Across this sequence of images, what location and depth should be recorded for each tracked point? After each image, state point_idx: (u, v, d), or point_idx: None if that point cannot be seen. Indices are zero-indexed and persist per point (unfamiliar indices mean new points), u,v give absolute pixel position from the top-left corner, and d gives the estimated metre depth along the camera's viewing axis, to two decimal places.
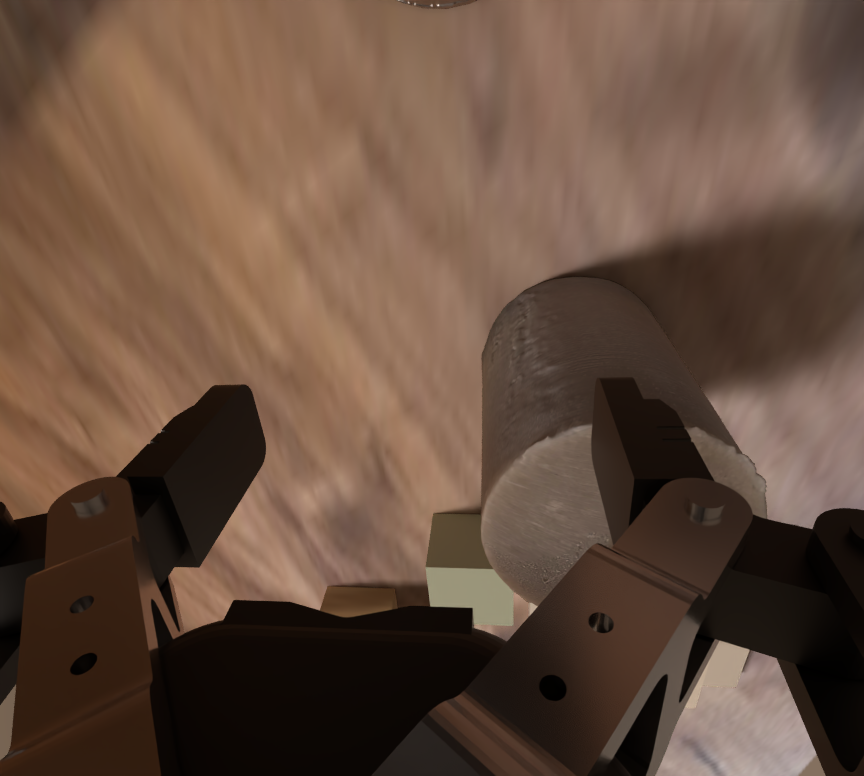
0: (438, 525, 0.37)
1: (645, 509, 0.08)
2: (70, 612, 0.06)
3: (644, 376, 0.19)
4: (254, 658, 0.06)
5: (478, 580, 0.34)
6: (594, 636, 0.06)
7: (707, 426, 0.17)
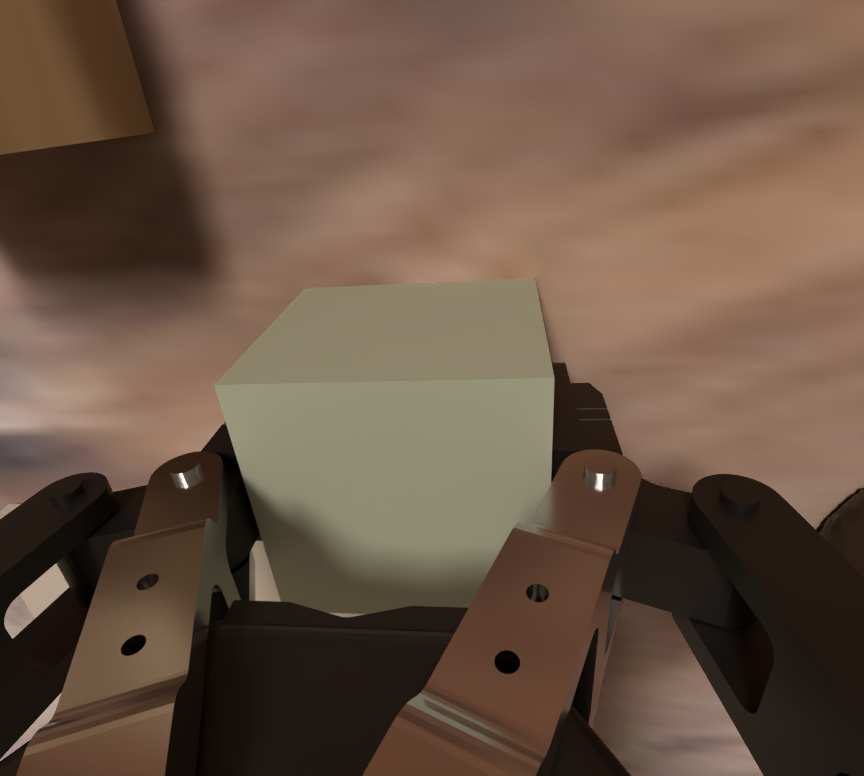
0: None
1: (552, 484, 0.08)
2: (137, 588, 0.07)
3: None
4: (254, 658, 0.06)
5: (488, 538, 0.10)
6: (534, 606, 0.06)
7: None
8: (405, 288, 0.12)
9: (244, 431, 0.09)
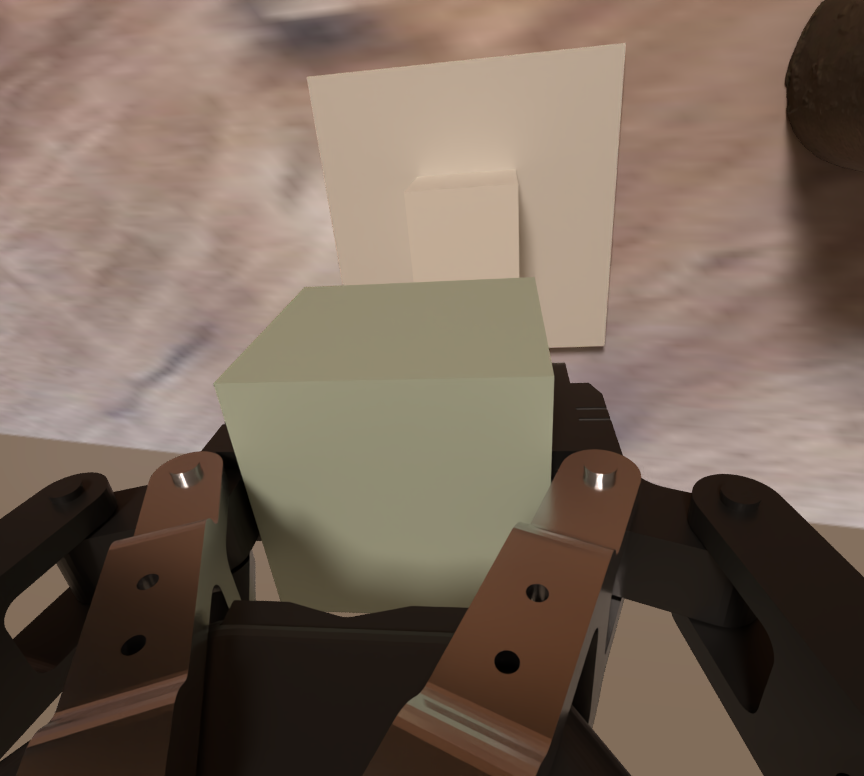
0: None
1: (551, 484, 0.08)
2: (138, 588, 0.07)
3: None
4: (254, 658, 0.06)
5: (488, 537, 0.10)
6: (533, 606, 0.06)
7: None
8: (405, 287, 0.12)
9: (243, 430, 0.09)
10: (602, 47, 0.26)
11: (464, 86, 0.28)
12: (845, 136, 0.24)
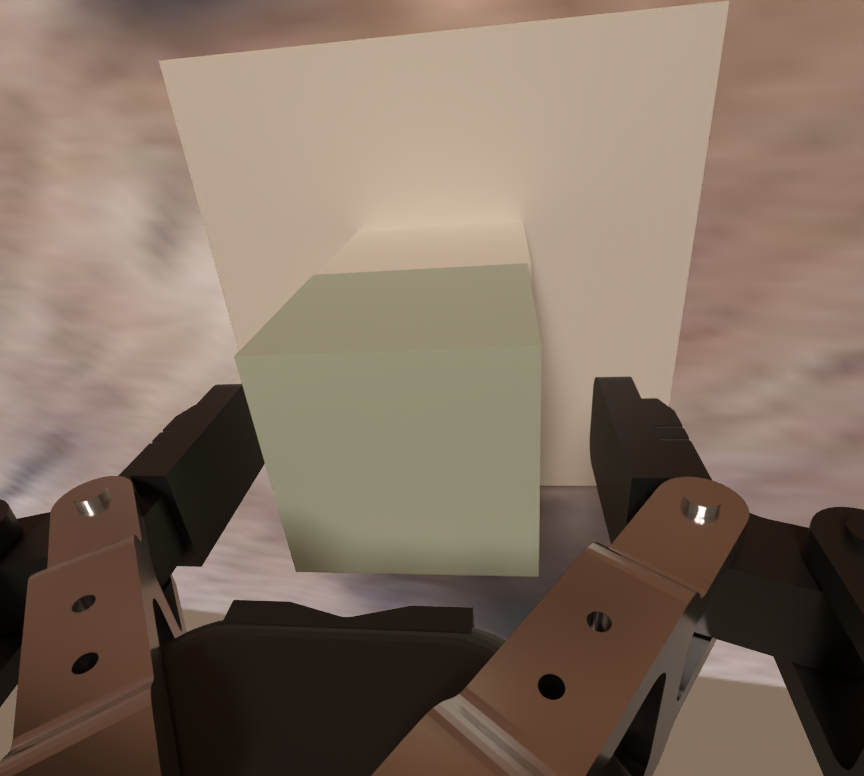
0: None
1: (642, 508, 0.08)
2: (73, 612, 0.06)
3: None
4: (254, 658, 0.06)
5: (484, 498, 0.11)
6: (593, 635, 0.06)
7: None
8: (406, 273, 0.13)
9: (261, 399, 0.10)
10: (685, 9, 0.14)
11: (433, 79, 0.16)
12: None
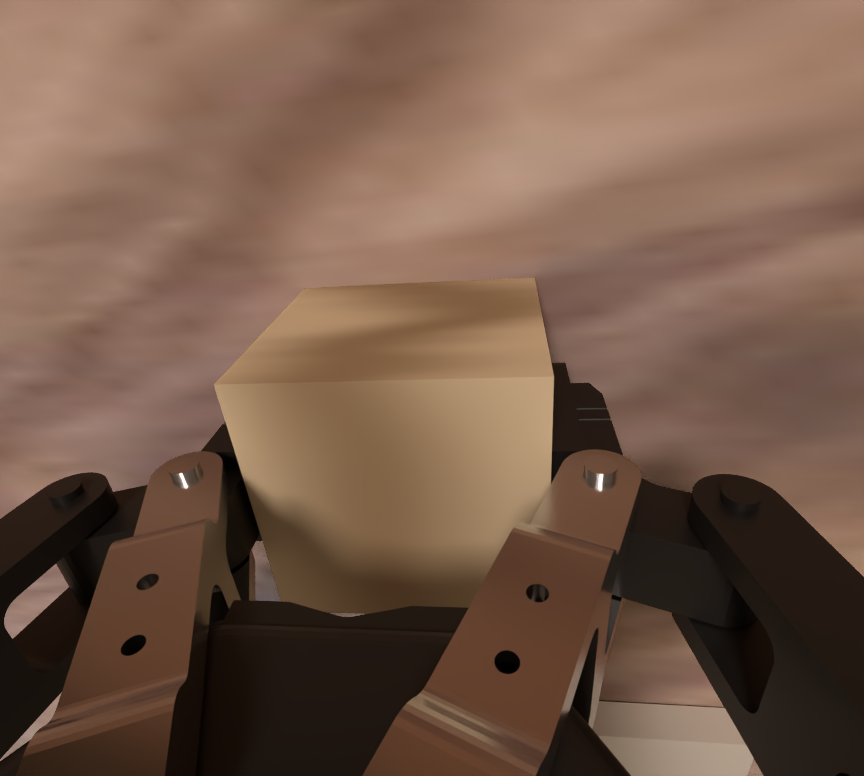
0: None
1: (552, 484, 0.08)
2: (137, 588, 0.07)
3: None
4: (254, 658, 0.06)
5: None
6: (533, 606, 0.06)
7: None
8: None
9: None
10: (722, 745, 0.18)
11: None
12: None
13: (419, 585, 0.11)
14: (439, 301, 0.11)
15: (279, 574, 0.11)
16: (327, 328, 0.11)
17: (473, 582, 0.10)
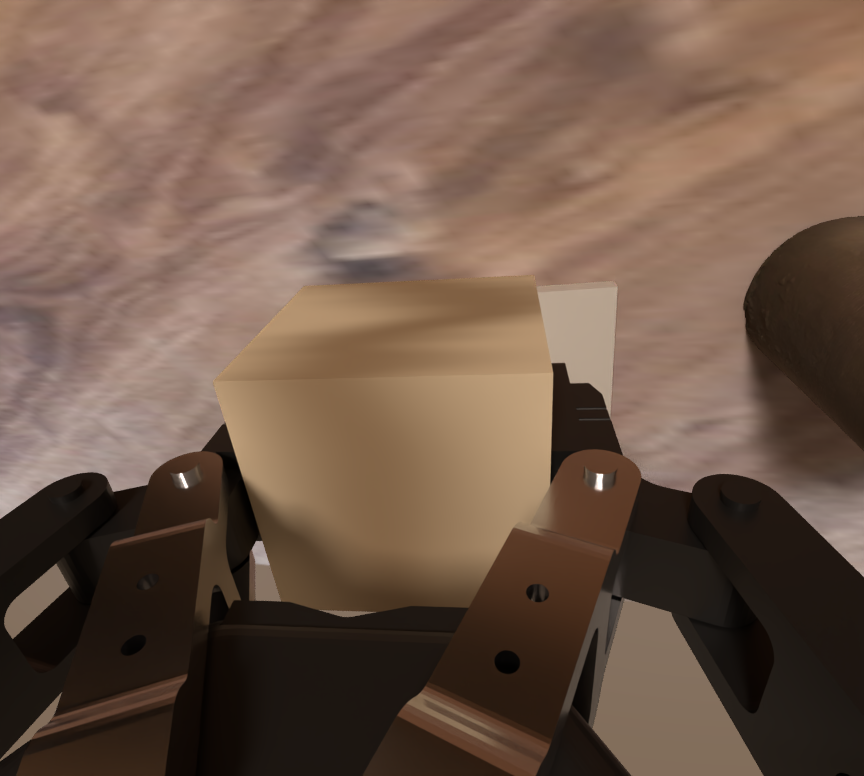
0: None
1: (552, 484, 0.08)
2: (138, 588, 0.07)
3: None
4: (254, 658, 0.06)
5: None
6: (533, 606, 0.06)
7: None
8: None
9: None
10: (599, 289, 0.34)
11: None
12: (787, 373, 0.31)
13: (418, 583, 0.11)
14: (438, 299, 0.11)
15: (278, 572, 0.11)
16: (326, 326, 0.11)
17: (473, 580, 0.10)
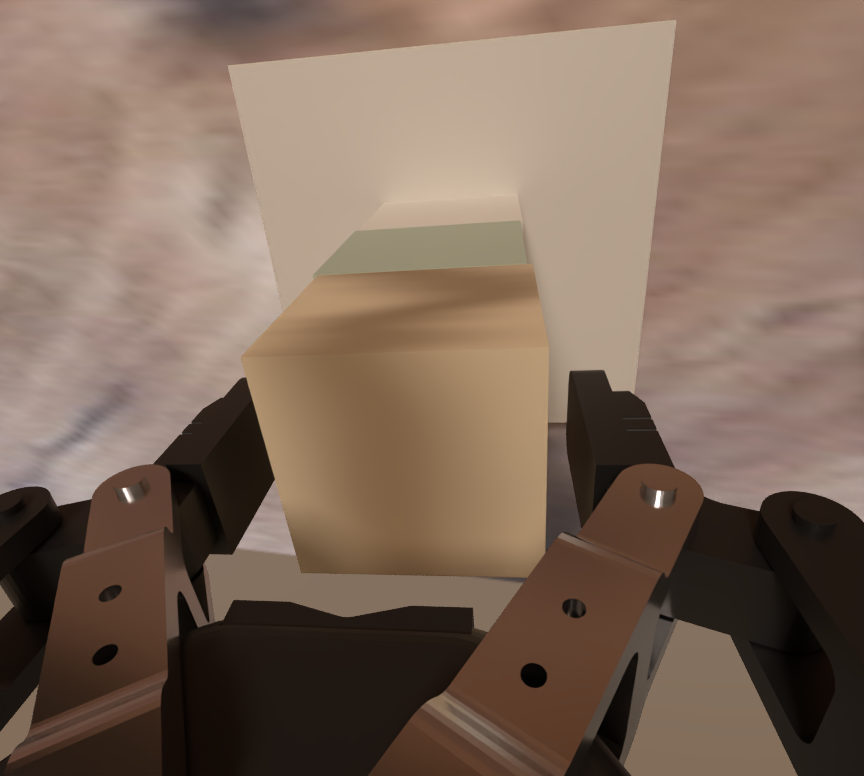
0: None
1: (605, 496, 0.08)
2: (100, 600, 0.06)
3: None
4: (254, 658, 0.06)
5: None
6: (569, 622, 0.06)
7: None
8: (428, 228, 0.17)
9: None
10: (642, 26, 0.18)
11: (446, 80, 0.20)
12: None
13: (426, 546, 0.11)
14: (443, 285, 0.12)
15: (297, 537, 0.12)
16: (340, 309, 0.11)
17: (477, 543, 0.11)
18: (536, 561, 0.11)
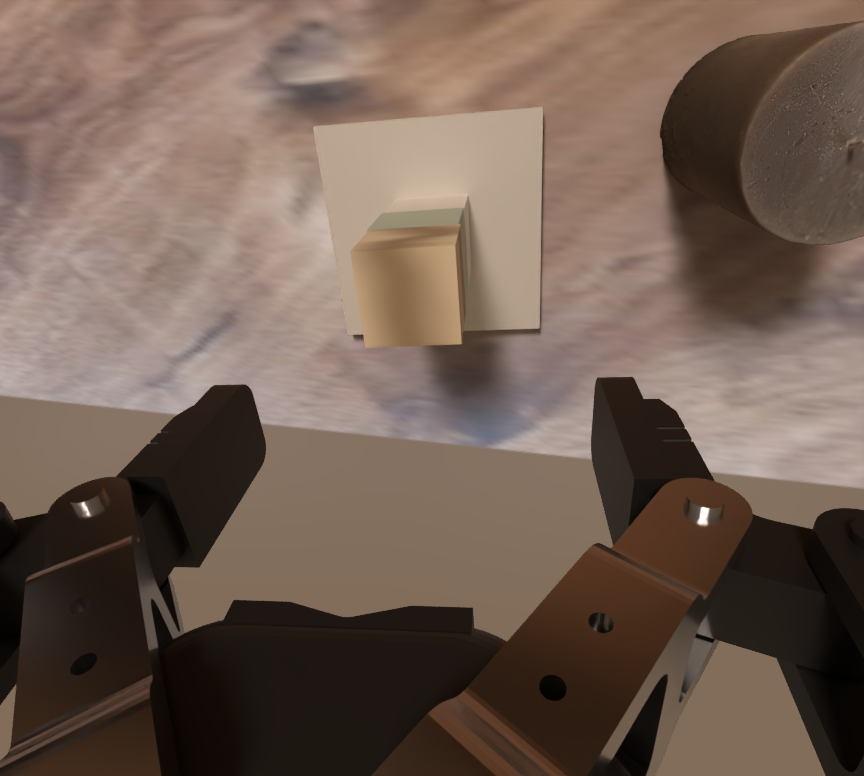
0: (462, 219, 0.35)
1: (645, 509, 0.08)
2: (71, 613, 0.06)
3: None
4: (254, 658, 0.06)
5: None
6: (595, 636, 0.06)
7: None
8: (418, 211, 0.36)
9: None
10: (526, 110, 0.37)
11: (428, 135, 0.38)
12: (690, 177, 0.34)
13: (415, 331, 0.30)
14: (422, 231, 0.30)
15: (364, 329, 0.30)
16: (382, 239, 0.30)
17: (434, 328, 0.29)
18: (457, 336, 0.30)
